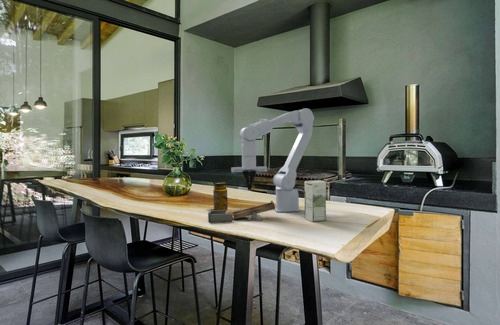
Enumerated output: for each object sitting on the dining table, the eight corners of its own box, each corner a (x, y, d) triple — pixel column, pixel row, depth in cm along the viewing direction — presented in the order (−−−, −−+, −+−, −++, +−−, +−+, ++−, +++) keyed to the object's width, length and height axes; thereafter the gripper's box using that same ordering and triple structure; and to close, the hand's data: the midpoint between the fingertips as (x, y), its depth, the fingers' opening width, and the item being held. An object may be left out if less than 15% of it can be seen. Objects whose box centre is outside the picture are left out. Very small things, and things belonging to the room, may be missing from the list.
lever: (270, 203, 132) (269, 197, 132) (275, 208, 120) (273, 202, 120) (233, 212, 131) (232, 207, 131) (234, 219, 119) (232, 213, 119)
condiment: (231, 210, 137) (230, 183, 137) (214, 213, 133) (213, 184, 132) (223, 208, 143) (222, 181, 143) (206, 210, 139) (205, 183, 138)
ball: (226, 218, 123) (234, 215, 123) (226, 220, 120) (234, 217, 120) (224, 211, 123) (231, 208, 123) (224, 212, 120) (231, 209, 120)
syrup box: (317, 217, 120) (317, 179, 120) (326, 220, 115) (326, 181, 114) (304, 219, 118) (303, 180, 118) (312, 222, 113) (312, 182, 112)
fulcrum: (259, 215, 126) (259, 208, 126) (261, 220, 118) (261, 212, 118) (247, 215, 126) (246, 208, 126) (248, 220, 118) (248, 213, 118)
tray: (231, 216, 125) (231, 207, 125) (231, 221, 117) (231, 212, 117) (209, 217, 124) (209, 208, 124) (208, 222, 116) (208, 213, 116)
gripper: (265, 155, 133) (265, 187, 134) (230, 156, 132) (231, 188, 133) (267, 156, 126) (268, 190, 127) (231, 157, 125) (231, 191, 126)
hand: (249, 189), depth 129 cm, fingers closed
